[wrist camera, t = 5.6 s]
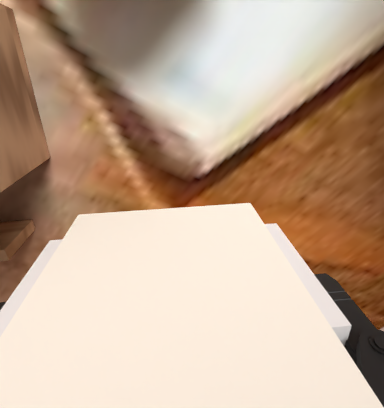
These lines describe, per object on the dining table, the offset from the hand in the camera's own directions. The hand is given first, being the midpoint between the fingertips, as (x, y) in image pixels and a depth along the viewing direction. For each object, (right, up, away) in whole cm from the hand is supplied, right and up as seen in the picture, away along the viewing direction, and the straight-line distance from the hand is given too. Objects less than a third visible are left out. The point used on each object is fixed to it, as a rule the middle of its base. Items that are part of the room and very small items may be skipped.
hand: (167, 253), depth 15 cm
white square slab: (0, +1, +2) cm, 2 cm away
